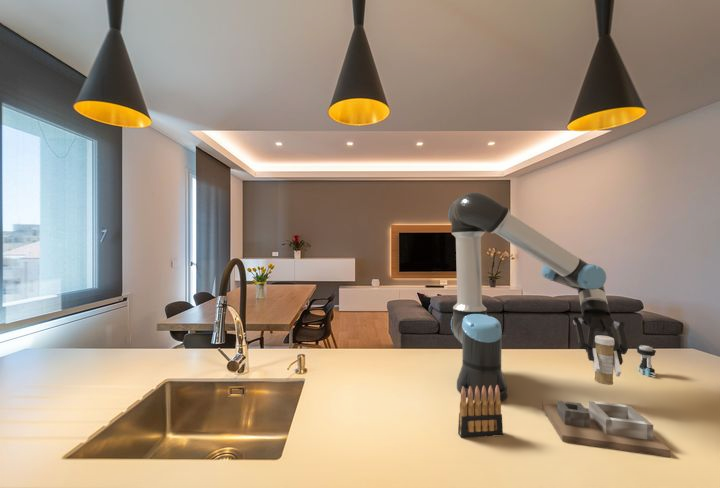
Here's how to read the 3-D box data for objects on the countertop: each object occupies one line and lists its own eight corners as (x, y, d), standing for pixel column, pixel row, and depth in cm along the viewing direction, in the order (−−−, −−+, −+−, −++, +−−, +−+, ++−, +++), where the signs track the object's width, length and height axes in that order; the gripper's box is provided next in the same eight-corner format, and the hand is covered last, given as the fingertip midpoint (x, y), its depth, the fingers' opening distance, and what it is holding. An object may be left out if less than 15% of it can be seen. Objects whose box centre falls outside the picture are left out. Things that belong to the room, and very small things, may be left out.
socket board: (562, 441, 75) (562, 420, 75) (542, 408, 90) (541, 390, 90) (670, 456, 70) (669, 434, 70) (628, 418, 85) (628, 400, 85)
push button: (663, 379, 111) (662, 350, 111) (646, 378, 112) (646, 349, 112) (648, 371, 118) (648, 344, 118) (632, 370, 119) (632, 344, 119)
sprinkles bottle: (595, 377, 97) (596, 333, 97) (614, 382, 94) (615, 337, 94) (593, 382, 93) (594, 336, 94) (612, 387, 90) (613, 340, 90)
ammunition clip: (498, 431, 79) (499, 383, 79) (503, 435, 77) (503, 386, 78) (457, 433, 78) (458, 384, 78) (461, 438, 76) (461, 388, 76)
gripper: (623, 314, 104) (642, 384, 89) (562, 309, 111) (570, 372, 96) (629, 301, 99) (651, 372, 84) (564, 296, 107) (573, 361, 91)
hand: (607, 372), depth 90 cm, fingers closed on sprinkles bottle, 4 cm apart
